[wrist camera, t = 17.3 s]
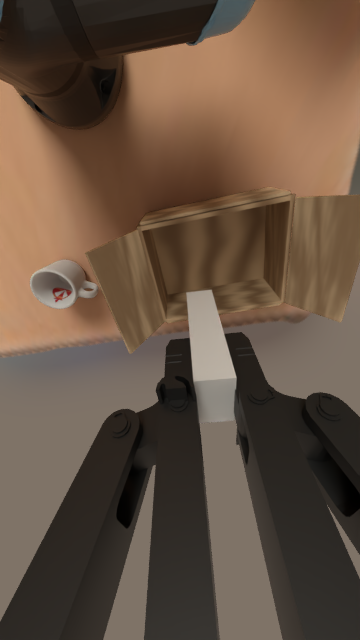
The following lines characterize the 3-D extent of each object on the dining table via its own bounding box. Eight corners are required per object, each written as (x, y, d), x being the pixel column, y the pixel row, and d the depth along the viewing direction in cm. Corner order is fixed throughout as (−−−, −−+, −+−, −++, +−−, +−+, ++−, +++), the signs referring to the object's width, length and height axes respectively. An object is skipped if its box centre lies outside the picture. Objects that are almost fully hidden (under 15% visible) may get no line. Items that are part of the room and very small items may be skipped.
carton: (166, 298, 49) (164, 324, 41) (144, 212, 39) (135, 223, 31) (265, 281, 47) (284, 305, 39) (269, 185, 37) (295, 190, 29)
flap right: (284, 302, 38) (340, 322, 31) (295, 197, 29) (377, 194, 22) (286, 302, 38) (341, 321, 32) (297, 196, 29) (379, 194, 22)
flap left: (162, 321, 40) (129, 353, 35) (135, 230, 31) (85, 252, 25) (163, 322, 40) (131, 353, 34) (137, 230, 31) (87, 253, 25)
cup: (106, 265, 44) (94, 282, 38) (101, 297, 49) (90, 317, 42) (50, 248, 42) (27, 263, 36) (50, 284, 47) (30, 303, 40)
